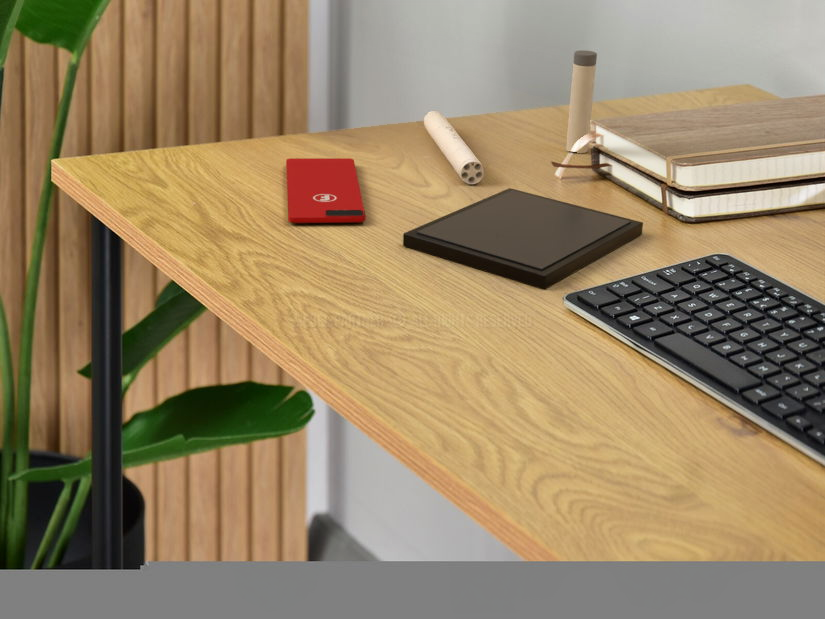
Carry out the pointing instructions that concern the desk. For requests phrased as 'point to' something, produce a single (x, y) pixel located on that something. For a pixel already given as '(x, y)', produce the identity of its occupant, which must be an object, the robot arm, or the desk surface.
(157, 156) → the desk surface
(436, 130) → the cream cylinder
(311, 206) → the electronic device
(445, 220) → the tablet
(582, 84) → the stylus
